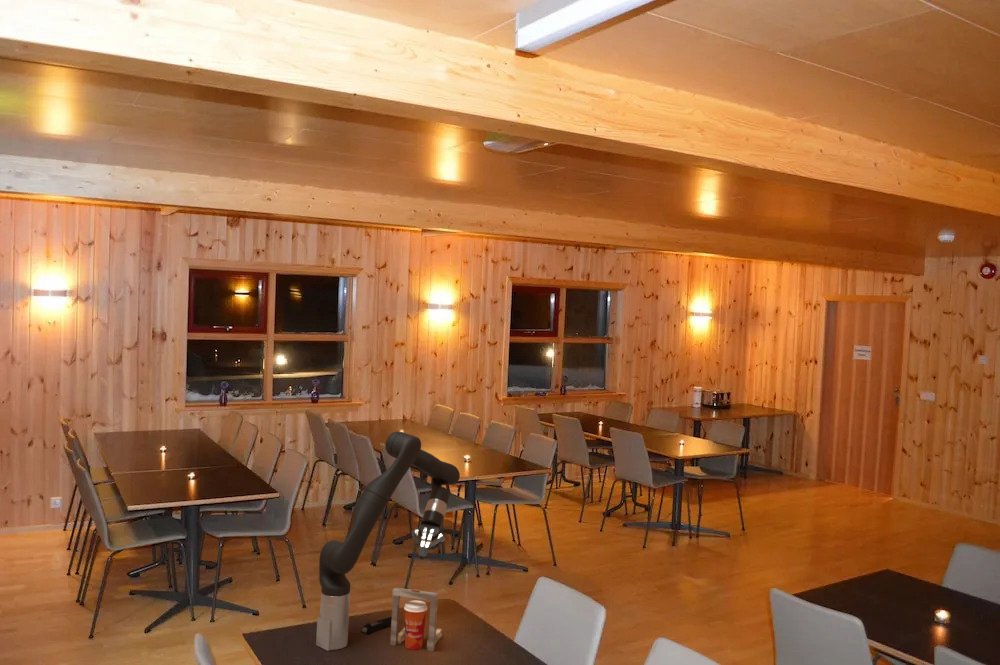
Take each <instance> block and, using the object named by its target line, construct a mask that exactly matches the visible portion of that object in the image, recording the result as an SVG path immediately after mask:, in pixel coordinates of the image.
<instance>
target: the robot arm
mask: <svg viewBox="0 0 1000 665" xmlns="http://www.w3.org/2000/svg"><path fill="white" fill-rule="evenodd" d="M384 446H385V451H386V453H387V454H388V455H389V456H390V457H392V458H394V459H395V460H394V461H393V463H392V464H391V466H390V467H389V468H388V469H386V471H384V472H382V473H381V474H380V475H378V476H376V477H375V478H373V479H372V480H370V481H369V482H368V483H367V484H366V486H365V487H364V488H363V490H362V492H361V493H360V495H359V497H358V499H357V501H356V503H355V507H354V513H353V521H352V526H351V529H350V531H349V533H348V534H347V536H346V538H345V540H344V541H343V542H342V541H339V540H337V539H335V540H329V541H327V542H326V543H324V545H323V546H322V547H321V551H320V554H319V562H318V563H319V566H318V568H319V571H318V573H319V574H318V580H319V584H320V587H321V588H320V589H321V591H320V592H321V593H320V608H319V610H320V612H319V615H318V616H317V617H316V618H317V620H316V635H315V636H316V639H315V640H316V641H315V645H316V646H317V647H319V648H321V649H323V650H325V651H327V652H329V651H336V650H340V649H344V648H345V647H347V645H348V642H349V641H348V639H349V622H350V620H349V619H350V600H351V582H350V581H349V579H348V578H347V576H346V574H348V573H350V572H351V570H353V568H354V567H355V565H356V564H357V562H358V560H359V557H360V555H361V554H362V552H363V549H364V547H365V544H366V542H367V540H368V538H369V536H370V535H371V532H372V531H373V530H374V527H375V526H376V524H377V522H378V520H379V518H380V517H381V515H382V514H383V512H384V510H385V509H386V508H387V505H388V503H389V501H390V499H391V498H392V496H393V494H394V493H395V491H396V490H397V488H398V486H399V484H400V483H401V481H402V480H403V478H404V477H405V475H406V474H407V473H408V471H409V469H410V468H411V467H412V466H413V467H415V468H417V469H418V470H420V471H421V472H422V473H424V474H425V475H427V476H428V477H430V478H431V480H430V481H431V486H430V487H431V489H430V495H429V498H428V501H427V503H426V506H425V509H424V512H423V515H422V519H421V522H420V524H419V526H417V529H415V530H414V529H412V530H411V535H412V538H413V540H414V543H415V544H416V547H418V548H419V550H418V558H419V559H420V560H422V561H423V560H425V559H427V557H428V553H429V551H430V550H432V551H433V550H435V549H437V547H440V545H441V544H443V543H444V542H445V541H446V537H445V535H443V534H442V527H443V523H444V520H445V517H446V512H447V506H448V503H449V499H450V494H451V493H450V491H449V489H448V488H446V487H445V486H453V485H456V484H457V483H458V482H459V481H460V477H461V476H460V471H459V468H457V467H456V465H454V464H452V463H450V462H445V461H443V460H441V459H439V458H438V457H436V456H435V455H434V454H432V453H429V452H428V451H426V450H423V449H422V441H421V439H420V438H419V436H418V437H417V436H415V435H413V434H409V433H406V432H404V431H398V430H397V431H392V432H391V433H389V435H387V438H386V440H385V444H384ZM419 535H420V538H421V541H420V540H419V538H418V536H419Z"/></svg>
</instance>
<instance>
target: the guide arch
mask: <svg viewBox="0 0 1000 665" xmlns="http://www.w3.org/2000/svg"><path fill="white" fill-rule="evenodd" d="M401 597H403V598H410V599H416V600H422V601H423V600H425V601H430V602H429V604H430V605H429V626H428V639H427V641H426V649H427V651H428V652H434V651H435V650H436V644H437V643H438V642H439V641H440V639H441V638H442V637H443V636H442V634H443V629H442V628H437V621H438V620H437V616H438V602H439V601H438V600H439V593H438V592H437V593H436V592H431V591H424V590H420V589H417V588H411V589H410V588H409V589H408V588H401V587H394V588H393V589H392V602H391V603H392V604H391V607H392V609H391V616H392V622H391V625H390V642H389V643H390V646H397V645H401V644H402V643H403V642H404V641H405V626H404V627H403V628H402V629H401V631H400V632H399V622H400V620H399V619H400V601H401Z"/></svg>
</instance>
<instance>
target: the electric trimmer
mask: <svg viewBox="0 0 1000 665" xmlns="http://www.w3.org/2000/svg"><path fill="white" fill-rule="evenodd" d="M391 622H392V615H391V616H389V617H385V618H382V619H380V620H376V621H373V622H370V623H369V622H368V623H367V622H366V623H365V624H364V625H363V626H362V627H361V629H360V633H361V634H363V633H364V634H363V635H365V634H366V635H370V633H372V632H374V631H377V630H380V629H385V628H386V629H387V628H388V627H391Z"/></svg>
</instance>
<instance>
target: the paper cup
mask: <svg viewBox="0 0 1000 665" xmlns="http://www.w3.org/2000/svg"><path fill="white" fill-rule="evenodd" d="M428 609H429V608H428V606H427V603H426V602H425V601H423V600H418V599H416V600H409V601H407V602H406V603H405V605H404V606H403V610H404V627H405V639H404V646H405V648H406V649H407V650H411V651H414V650H415V651H417V650H420V649H422V648H423V643H424V636H425V635H424V633H425V626H426V617H427V611H428Z"/></svg>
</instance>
